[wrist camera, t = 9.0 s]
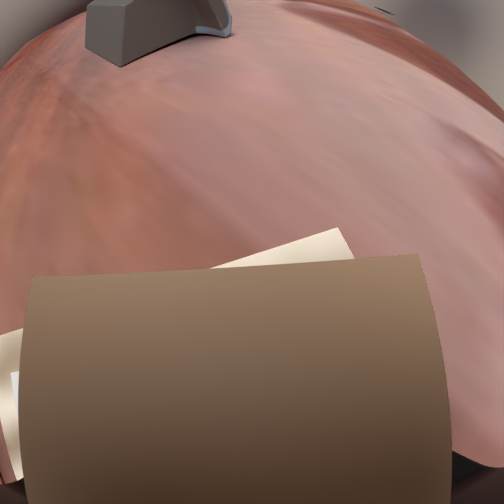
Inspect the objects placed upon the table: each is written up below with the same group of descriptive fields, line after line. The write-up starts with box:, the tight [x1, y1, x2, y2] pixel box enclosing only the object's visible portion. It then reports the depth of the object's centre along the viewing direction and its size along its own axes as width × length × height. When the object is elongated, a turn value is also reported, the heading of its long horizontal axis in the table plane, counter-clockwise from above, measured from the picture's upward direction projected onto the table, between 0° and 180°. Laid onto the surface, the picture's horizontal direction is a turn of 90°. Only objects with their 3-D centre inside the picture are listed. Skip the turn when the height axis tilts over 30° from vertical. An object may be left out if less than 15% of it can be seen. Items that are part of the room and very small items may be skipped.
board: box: [0, 227, 355, 481], centre depth 14 cm, size 18×28×1 cm, turn 109°
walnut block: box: [18, 254, 452, 504], centre depth 8 cm, size 4×4×13 cm
